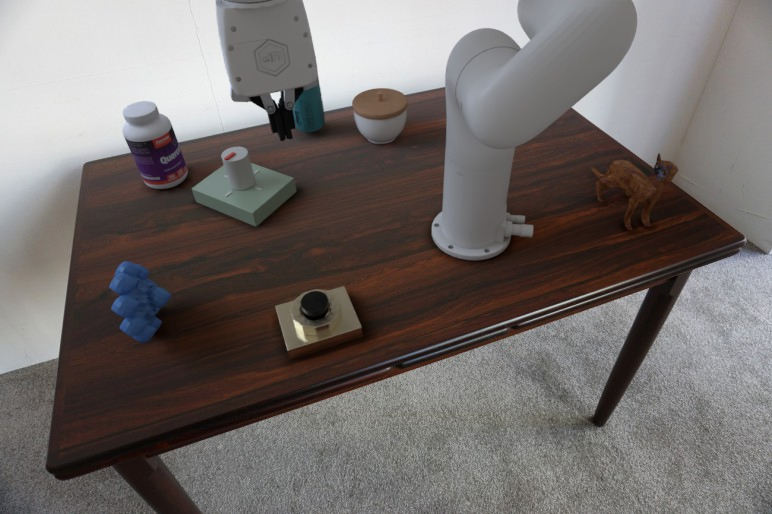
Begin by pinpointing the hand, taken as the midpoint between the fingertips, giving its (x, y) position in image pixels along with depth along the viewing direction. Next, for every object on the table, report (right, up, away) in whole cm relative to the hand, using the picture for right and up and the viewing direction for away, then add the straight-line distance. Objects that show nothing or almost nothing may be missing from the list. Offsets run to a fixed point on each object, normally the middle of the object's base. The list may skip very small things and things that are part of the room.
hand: (284, 134), depth 68 cm
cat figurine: (+52, -7, +21) cm, 57 cm away
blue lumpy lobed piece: (-18, -26, +5) cm, 32 cm away
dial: (-12, -3, +23) cm, 26 cm away
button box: (+4, -25, +4) cm, 26 cm away
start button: (+4, -23, +2) cm, 23 cm away
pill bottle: (-28, -1, +30) cm, 41 cm away
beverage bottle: (-3, +10, +41) cm, 42 cm away
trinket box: (+12, +9, +38) cm, 41 cm away
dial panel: (-12, -5, +26) cm, 29 cm away
